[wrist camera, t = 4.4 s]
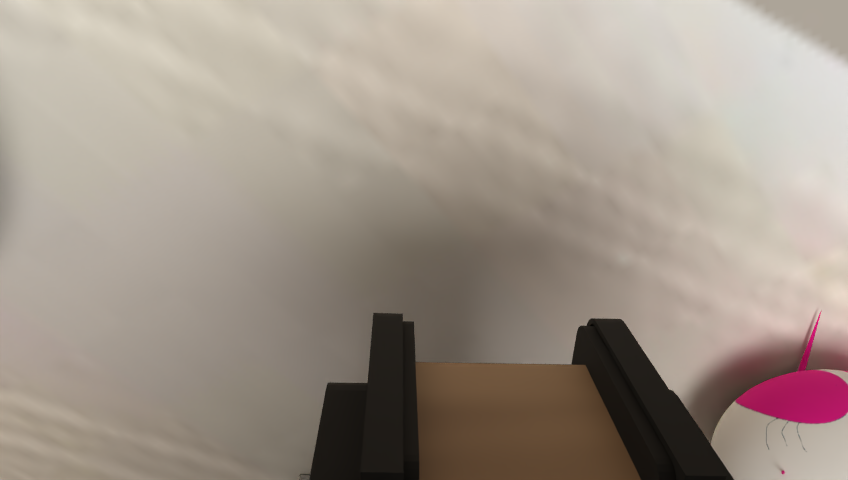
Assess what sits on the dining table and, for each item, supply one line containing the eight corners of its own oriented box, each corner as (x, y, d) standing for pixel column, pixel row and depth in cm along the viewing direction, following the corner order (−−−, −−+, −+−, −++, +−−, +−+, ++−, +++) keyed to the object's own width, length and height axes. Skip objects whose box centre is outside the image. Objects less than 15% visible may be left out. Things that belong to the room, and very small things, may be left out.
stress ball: (835, 319, 24) (1014, 302, 17) (864, 541, 22) (1075, 614, 15) (649, 316, 23) (762, 296, 16) (665, 545, 21) (797, 623, 15)
